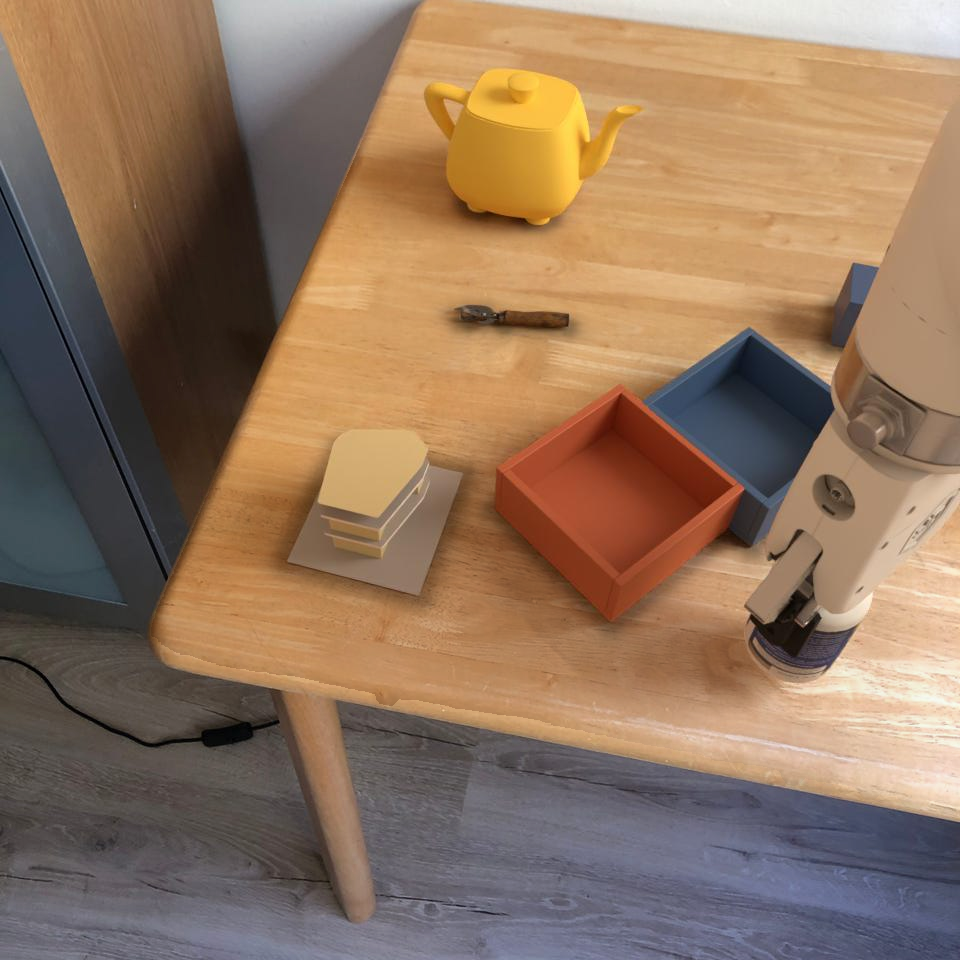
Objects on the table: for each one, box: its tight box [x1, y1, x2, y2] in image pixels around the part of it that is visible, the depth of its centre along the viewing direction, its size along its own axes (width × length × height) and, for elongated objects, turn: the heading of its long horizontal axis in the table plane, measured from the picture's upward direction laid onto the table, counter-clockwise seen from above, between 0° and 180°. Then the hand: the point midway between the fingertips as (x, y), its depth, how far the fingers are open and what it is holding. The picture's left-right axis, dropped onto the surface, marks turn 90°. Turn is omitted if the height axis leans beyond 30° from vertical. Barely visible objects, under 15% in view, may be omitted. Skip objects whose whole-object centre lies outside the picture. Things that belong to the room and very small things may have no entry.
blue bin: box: [641, 326, 835, 548], centre depth 66 cm, size 11×11×5 cm
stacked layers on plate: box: [286, 428, 464, 597], centre depth 62 cm, size 10×9×6 cm
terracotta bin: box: [493, 383, 745, 623], centre depth 63 cm, size 11×11×5 cm
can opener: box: [453, 304, 570, 328], centre depth 75 cm, size 9×2×1 cm, turn 80°
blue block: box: [830, 262, 880, 348], centre depth 74 cm, size 4×4×4 cm
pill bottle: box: [744, 557, 874, 684], centre depth 54 cm, size 5×5×10 cm
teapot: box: [423, 68, 644, 226], centre depth 80 cm, size 18×11×11 cm, turn 73°
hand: (811, 602), depth 54 cm, fingers closed on pill bottle, 5 cm apart
